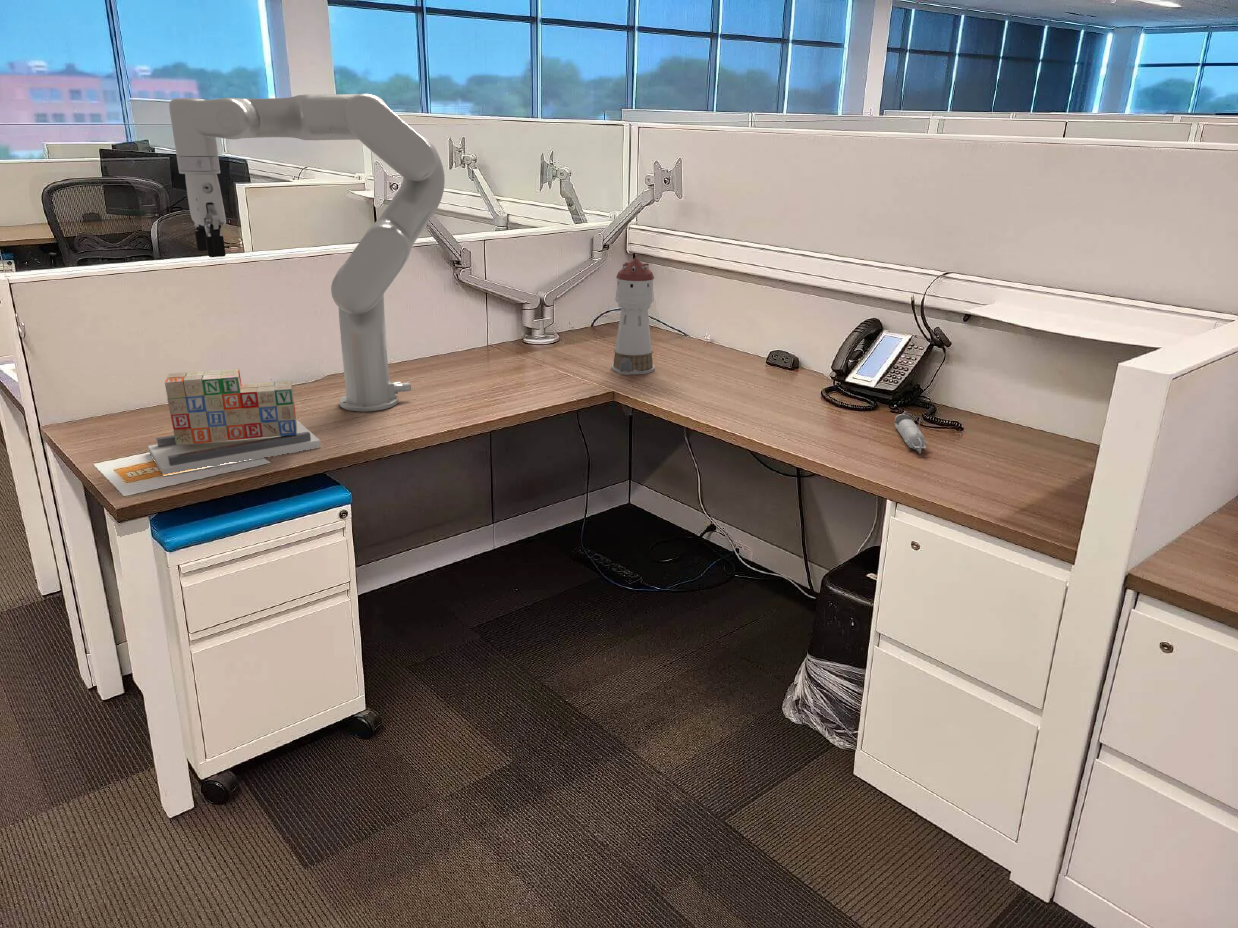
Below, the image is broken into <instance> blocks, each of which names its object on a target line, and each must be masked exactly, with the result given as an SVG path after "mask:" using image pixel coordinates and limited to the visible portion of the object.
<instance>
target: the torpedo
mask: <svg viewBox="0 0 1238 928" xmlns="http://www.w3.org/2000/svg"><path fill="white" fill-rule="evenodd" d="M911 418H912V417H910V415H908V414H905V413H901V414H897V415H896V416H895V418H894V427H895V428H896V430H897V431H898V433H899V434H900V436H901V437H902V439H903V441H904V442H905V444H906V445H907V447H909V448H910V449H912V450H913V451H914V450H915V451H917V452H918V454H921V452H922V449H927V447H926V444H929V441H926V439H925V436H924V434H923V433H922V431H921V430H920V424H921V418H919V419H918V420H919V422H918V425H917V424H916V423H915V422H914V420H913V419H911Z"/></svg>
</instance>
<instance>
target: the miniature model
mask: <svg viewBox="0 0 1238 928" xmlns="http://www.w3.org/2000/svg"><path fill="white" fill-rule="evenodd" d="M634 255H635V257H634V258H633V259H632V260H631V261H629V262H625V263H623V264H622V268H621V269H620V270H619V271H618V272H617V275H616V276H615V278H616V293H615V301H616V303H617V304H618V306H617V307H618V308H620V315H619V321H618V328H617V334H616V339H615V340H616V341H615V347H614V350H613V354H614V356H613V357H614V358H613V363H612V364H611V370H612V371H614V372H615V373H617V374H618V375H624V376H625V375H626V376H630V375H645V374H651V373H653V372H654V371H655V368H656V367H655V365H654V364H653V353H654V350H653V348H652V340H651V339H652V337H651V330H650V319H649V318H650V317H649V309H650V308H651V304H652V303H653V302H654V300H655V299H654V279H655V277H654V274H653V272H652V271H651V270H650V269H649V268H650V267H649V266H650V265H649V263H643V262H642V261H640V259H638V258H637V253H635V254H634Z"/></svg>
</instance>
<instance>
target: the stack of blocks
mask: <svg viewBox="0 0 1238 928" xmlns="http://www.w3.org/2000/svg"><path fill="white" fill-rule="evenodd" d="M164 381H165V382H164V386H165V392H166V397H167V399H166V400H167V404H168V410H169V414H170V419H171V423H172V429H173V435H174V436H175V442H176V445H184V444H198V443H209V442H220V441H229V440H240V439H251V438H262V437H274V436H286V435H296V434H297V421H298V420H297V415H296V408H295V407H296V406H295V399H294V391H293V383H292V380H281V381H279V380H278V381H265V382H247V383H242V380H241V372H240V368H228V369H213V370H211V369H210V370H201V371H189V372H185V371H184V372H173V373H172V372H170V373H169V374H168V375H167V377H166V380H164Z"/></svg>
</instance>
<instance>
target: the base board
mask: <svg viewBox="0 0 1238 928" xmlns="http://www.w3.org/2000/svg"><path fill="white" fill-rule="evenodd" d="M296 421H297V434H296V435H286V436H274V437H262V438H251V439H240V440H229V441H220V442H209V443H198V444H184V445H176V442H175V436H174V434H173V435H167V436H161V437H156V438H155V439H156V443H155V444H150V445H147V449H148V453H150V454H151V455H150V454H149V455H150V456H152V457H153V459H154V460H155V462H156V464H157V465H156V464H155V465H156V467H157V466H158V467H159V469H160V470H161V472H162V474H168V473H173V472H180V471H185V470H188V469H197V468H202V467H207V466H217V465H220V464H224V463H229V462H239V461H244V460H249V459H257V460H260V459H259V458H262V459H265V458H264V457H268V458H270V457H269V456H273V457H278V455H279V456H282V454H284V455H288V454H287V453H289V454H293V453H299V451H300V452H304V451H303V450H306V451H310V449H311V450H315V448H316V449H319V448H318V447H321V448H322V446H321V439H319V438H318V437H317V436H316V435H315V434H314V433H312V432H311V431H310V430H309V429H308V428H307V427H306V426H305V425H303V423H301V422H300V421H299V420H296ZM152 457H151V458H152ZM153 459H152V460H153ZM154 460H153V461H154ZM155 462H154V463H155ZM158 467H157V468H158ZM159 469H158V470H159ZM160 470H159V471H160ZM161 472H160V473H161ZM162 474H161V475H162Z"/></svg>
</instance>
